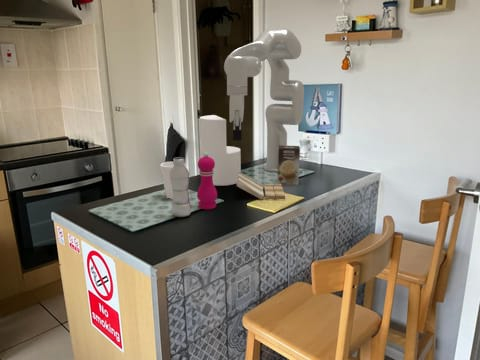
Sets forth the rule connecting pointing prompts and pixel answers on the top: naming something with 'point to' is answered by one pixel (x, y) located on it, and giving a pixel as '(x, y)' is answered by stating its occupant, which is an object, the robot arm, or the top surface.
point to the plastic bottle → (180, 188)
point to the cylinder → (219, 150)
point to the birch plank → (250, 185)
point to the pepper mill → (206, 183)
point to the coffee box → (288, 165)
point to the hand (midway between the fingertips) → (237, 140)
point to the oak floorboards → (274, 191)
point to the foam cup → (167, 178)
